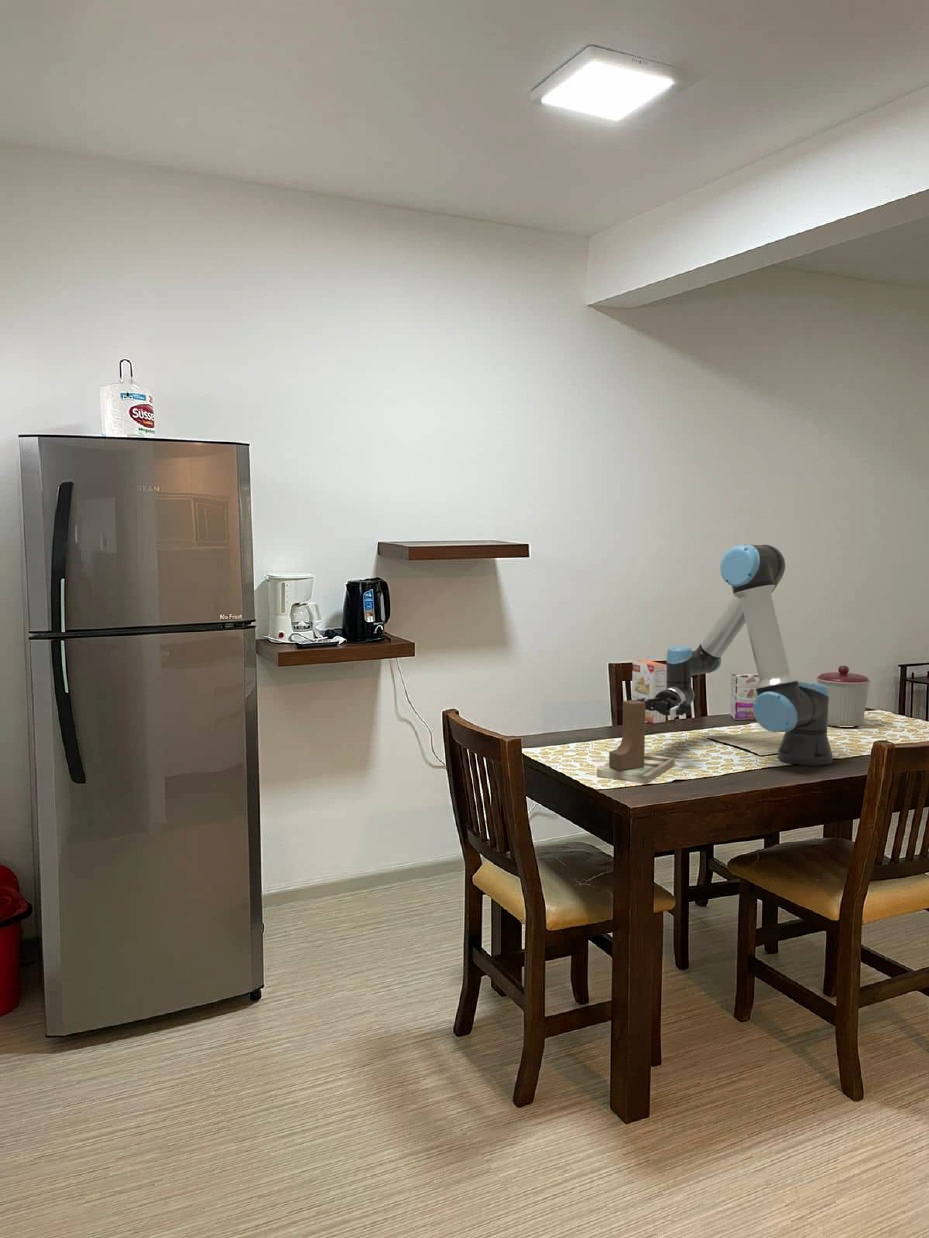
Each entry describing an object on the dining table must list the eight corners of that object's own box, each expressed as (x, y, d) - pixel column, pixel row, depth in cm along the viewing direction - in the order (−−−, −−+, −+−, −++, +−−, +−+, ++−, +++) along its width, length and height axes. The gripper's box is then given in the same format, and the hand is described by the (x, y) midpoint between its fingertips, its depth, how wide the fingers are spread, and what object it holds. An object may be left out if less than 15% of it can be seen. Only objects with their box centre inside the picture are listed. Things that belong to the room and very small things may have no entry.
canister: (825, 730, 321) (827, 669, 319) (805, 720, 339) (808, 662, 337) (878, 730, 321) (881, 669, 319) (856, 720, 339) (858, 662, 337)
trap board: (674, 764, 271) (674, 756, 271) (646, 783, 250) (646, 774, 250) (628, 758, 278) (628, 751, 278) (596, 776, 257) (597, 768, 257)
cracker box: (630, 717, 343) (631, 660, 341) (644, 716, 345) (645, 659, 344) (651, 724, 330) (653, 664, 328) (666, 723, 332) (668, 664, 331)
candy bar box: (758, 717, 343) (760, 673, 342) (764, 720, 338) (766, 675, 337) (729, 718, 342) (730, 673, 340) (735, 721, 337) (736, 675, 335)
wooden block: (619, 771, 254) (620, 704, 252) (608, 767, 257) (609, 702, 256) (644, 767, 258) (646, 702, 257) (633, 763, 262) (635, 699, 261)
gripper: (710, 716, 279) (691, 729, 261) (629, 710, 291) (605, 721, 273) (711, 691, 279) (691, 702, 260) (629, 686, 291) (605, 696, 272)
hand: (647, 712), depth 267 cm, fingers open, 13 cm apart
